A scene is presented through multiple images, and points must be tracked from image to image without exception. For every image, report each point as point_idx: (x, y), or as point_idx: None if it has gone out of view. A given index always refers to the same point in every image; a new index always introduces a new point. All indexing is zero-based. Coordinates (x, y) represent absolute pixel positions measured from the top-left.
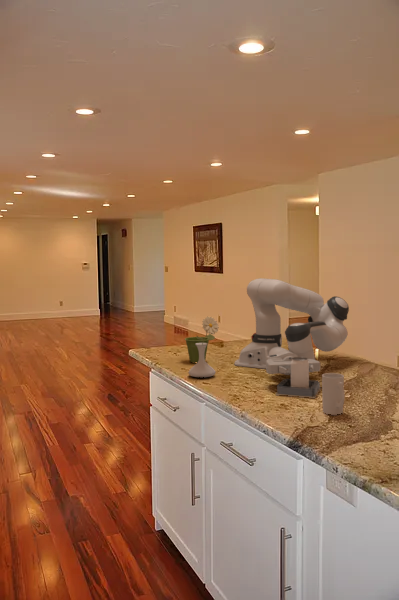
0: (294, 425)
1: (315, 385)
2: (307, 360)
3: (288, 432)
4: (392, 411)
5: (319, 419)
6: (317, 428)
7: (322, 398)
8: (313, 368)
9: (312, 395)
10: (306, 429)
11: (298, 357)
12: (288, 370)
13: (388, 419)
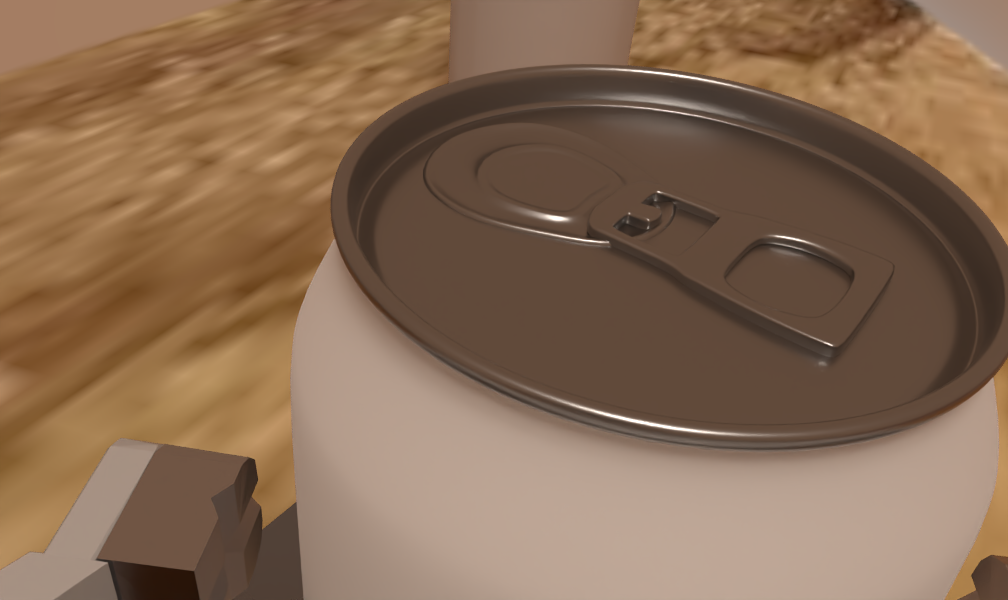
0: (891, 84)
1: (278, 552)
2: (407, 151)
3: (939, 48)
4: (84, 51)
5: None
6: (759, 38)
7: (630, 40)
8: (134, 447)
9: None
10: (827, 45)
11: (615, 418)
12: (989, 568)
13: (262, 6)
